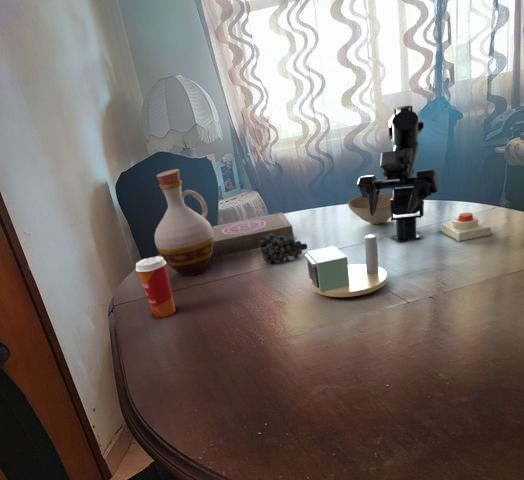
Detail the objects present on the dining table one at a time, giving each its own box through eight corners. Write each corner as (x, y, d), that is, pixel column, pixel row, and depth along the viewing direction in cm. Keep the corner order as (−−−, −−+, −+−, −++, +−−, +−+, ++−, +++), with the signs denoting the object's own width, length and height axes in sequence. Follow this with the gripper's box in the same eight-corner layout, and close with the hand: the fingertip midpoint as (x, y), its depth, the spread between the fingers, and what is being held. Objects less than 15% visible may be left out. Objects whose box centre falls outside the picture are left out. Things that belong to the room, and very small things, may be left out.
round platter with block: (304, 277, 121) (299, 239, 116) (373, 263, 121) (371, 225, 116) (318, 303, 105) (313, 260, 100) (398, 287, 105) (397, 244, 100)
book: (284, 225, 176) (282, 212, 174) (294, 240, 156) (292, 225, 154) (205, 241, 175) (202, 228, 173) (205, 258, 156) (202, 243, 153)
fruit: (303, 223, 138) (254, 232, 137) (310, 238, 133) (259, 247, 132) (304, 247, 145) (257, 256, 144) (310, 262, 139) (262, 272, 138)
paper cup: (152, 309, 123) (136, 259, 116) (180, 303, 123) (166, 253, 116) (148, 321, 116) (131, 269, 109) (178, 315, 116) (163, 262, 109)
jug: (201, 256, 158) (179, 164, 144) (235, 262, 146) (215, 162, 132) (154, 277, 147) (125, 179, 133) (186, 285, 135) (158, 178, 121)
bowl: (411, 225, 149) (410, 199, 145) (354, 234, 151) (352, 209, 147) (397, 212, 165) (396, 189, 161) (345, 220, 167) (343, 198, 163)
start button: (456, 220, 133) (456, 214, 132) (468, 218, 133) (468, 212, 132) (462, 223, 130) (462, 217, 129) (474, 220, 130) (475, 214, 129)
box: (441, 231, 138) (441, 218, 136) (470, 225, 138) (471, 212, 136) (458, 241, 128) (459, 226, 127) (490, 234, 129) (491, 220, 127)
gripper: (357, 142, 114) (342, 196, 111) (435, 131, 104) (422, 190, 100) (370, 171, 123) (357, 222, 120) (444, 163, 113) (431, 219, 109)
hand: (389, 213), depth 112 cm, fingers open, 9 cm apart
